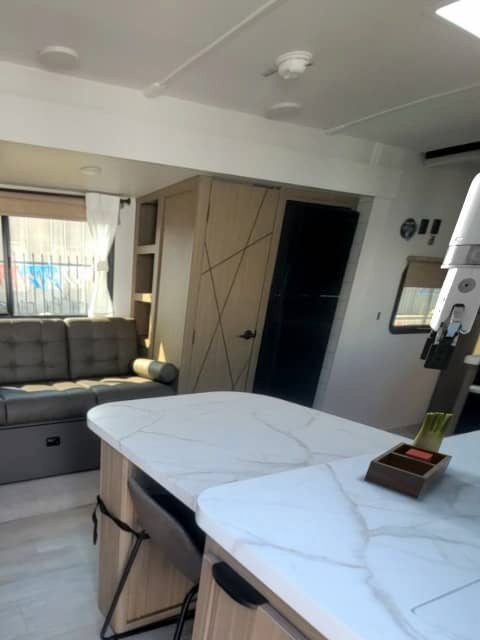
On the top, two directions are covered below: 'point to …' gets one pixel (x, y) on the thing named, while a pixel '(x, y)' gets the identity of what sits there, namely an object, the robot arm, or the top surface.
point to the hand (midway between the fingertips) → (431, 364)
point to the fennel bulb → (432, 431)
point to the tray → (407, 470)
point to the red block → (419, 455)
